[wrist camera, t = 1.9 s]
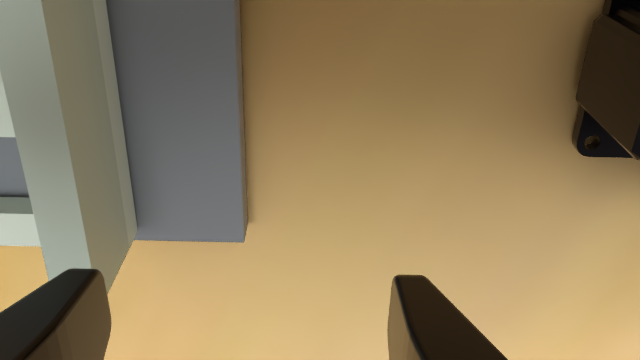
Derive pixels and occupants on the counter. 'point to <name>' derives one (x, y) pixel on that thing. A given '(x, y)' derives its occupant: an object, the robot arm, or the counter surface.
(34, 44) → the panel
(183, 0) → the board
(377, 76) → the counter surface
